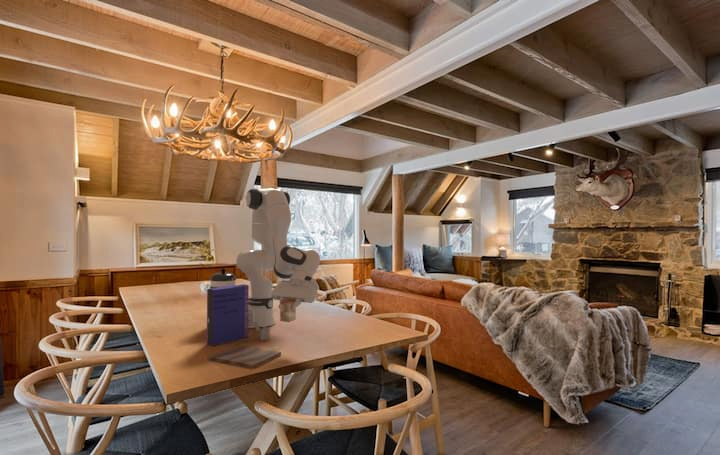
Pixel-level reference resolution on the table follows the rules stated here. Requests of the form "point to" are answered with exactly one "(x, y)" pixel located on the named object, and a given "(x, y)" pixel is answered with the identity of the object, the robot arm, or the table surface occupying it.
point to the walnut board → (244, 356)
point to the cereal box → (227, 314)
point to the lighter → (263, 332)
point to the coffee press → (222, 279)
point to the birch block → (287, 311)
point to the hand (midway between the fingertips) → (286, 308)
